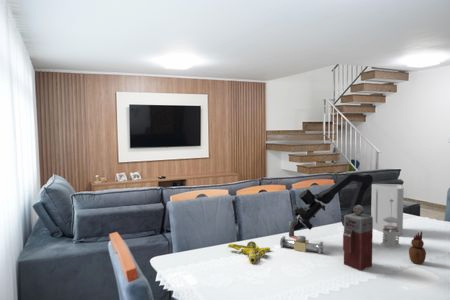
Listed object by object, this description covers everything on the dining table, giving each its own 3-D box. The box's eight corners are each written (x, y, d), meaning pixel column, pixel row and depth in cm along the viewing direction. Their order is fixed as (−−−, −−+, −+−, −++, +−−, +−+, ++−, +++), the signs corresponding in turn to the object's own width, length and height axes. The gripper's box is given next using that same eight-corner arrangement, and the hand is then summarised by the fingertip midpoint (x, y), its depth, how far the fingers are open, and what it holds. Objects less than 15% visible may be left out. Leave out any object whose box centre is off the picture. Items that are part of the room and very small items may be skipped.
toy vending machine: (340, 265, 153) (340, 205, 152) (355, 260, 160) (356, 202, 158) (357, 272, 146) (358, 209, 144) (372, 266, 152) (373, 205, 150)
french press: (381, 246, 177) (382, 200, 176) (379, 240, 188) (380, 196, 187) (401, 249, 174) (402, 201, 172) (399, 242, 184) (400, 197, 183)
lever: (307, 240, 174) (307, 224, 173) (301, 242, 171) (301, 226, 171) (292, 235, 182) (292, 220, 182) (286, 237, 180) (286, 221, 179)
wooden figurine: (423, 261, 157) (424, 230, 156) (426, 266, 152) (427, 233, 151) (407, 259, 159) (408, 228, 159) (410, 264, 154) (410, 232, 153)
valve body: (323, 250, 172) (323, 241, 172) (321, 254, 167) (321, 245, 166) (283, 244, 183) (283, 235, 182) (279, 247, 177) (279, 238, 177)
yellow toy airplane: (273, 264, 156) (270, 248, 176) (272, 251, 155) (269, 236, 175) (227, 267, 157) (228, 251, 177) (225, 254, 156) (227, 239, 176)
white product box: (414, 233, 200) (415, 187, 199) (397, 236, 194) (398, 189, 192) (386, 225, 217) (387, 182, 216) (370, 228, 211) (371, 184, 210)
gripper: (296, 196, 190) (277, 215, 190) (306, 204, 171) (285, 225, 171) (310, 209, 191) (291, 228, 191) (321, 219, 172) (300, 240, 173)
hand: (291, 230), depth 182 cm, fingers closed
